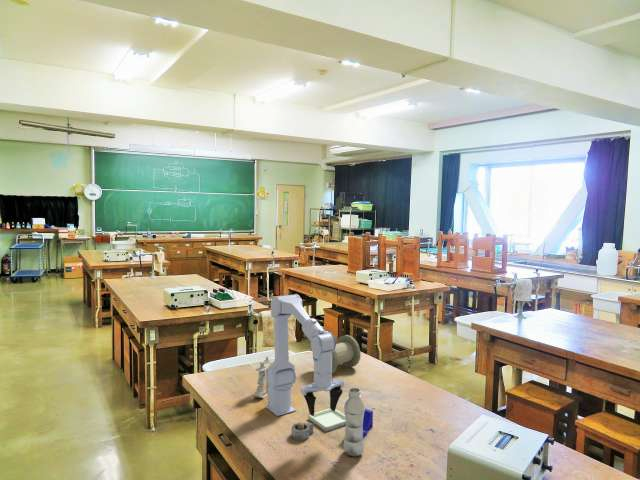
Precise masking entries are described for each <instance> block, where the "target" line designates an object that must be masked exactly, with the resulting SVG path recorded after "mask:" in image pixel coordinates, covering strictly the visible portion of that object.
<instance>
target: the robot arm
mask: <svg viewBox="0 0 640 480" xmlns="http://www.w3.org/2000/svg"><path fill="white" fill-rule="evenodd" d="M291 316H293V317H294V318H295V320H297V321H298V323H300V324H301V330H302V332H303V333H304V335H305V337H307V339H308V340H309V341H310V347H311V352H312V358H313V357H314V360H313V365H314V366H313V382H312V383H310V384H309V383H308V385H307V384H306V385H305V386H301V387H300V393H301V395H303V397H304V399H305V401H306V405H307V408H308V412H309V414H310V415H311V416H314V413H315V406H316V405H315V404H316V399H317V397H316V396H315V394H314V393H317V392H323V391H324V392H329V400H330V401H329V408H330V409H331V410H332V411H335V409H336V408H337V405H338V402H339V399H340V397H341V396H342V395H343V389H342V388H345V387H344V385H345V383H344V380H342V379H334V380H333V379H332V378H333V374H332V350H334V349H335V348H336V343H337V340H336V337H335V335H334V334H333V333H332V332H331V331H328V330H325V328H323V327H322V325H321V324H320V323H319V322H318V321H317V319H315V318H311V317H310V316H309V314H308V312H307V311H306V310H305V308H304V307H303V299H302V298H301V296H300V295H299V294H298V293H294V294H289V295H279V296H278V295H277V296H273V298H272V299H271V300H270V317H271V318H273V332H274V333H273V334H274V335H273V337H274V361H272V362H271V364H269V367H268V374H267V382H268V385H269V388H268V395H267V404H266V405H265V408H267V409H268V410H269V411H270V412H272V413H273V414H274V415H275V416H276V417H279V416H282V415H285V414H289V413H293V412H296V410H297V409H296V408H295V407H293V406H292V387H294V384H295V383H296V381H297V372H296V369H295V364H294V363H293V362H292V361H291V360H289V359H290V358H289V357H290V355H289V353H290V352H289V351H290V350H289V318H290V317H291ZM309 414H308V415H309Z"/></svg>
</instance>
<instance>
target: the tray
mask: <svg viewBox="0 0 640 480" xmlns="http://www.w3.org/2000/svg"><path fill="white" fill-rule="evenodd" d="M307 417H308V418H307V419H308V420H309V421H311V423H312V424H314V425H316V426H318V427H319V428H320V429H321V430H323V431H324V432H329V431H332V430H336V429H338V428H341V427H346V419H345V413H343V412H342V411H340V410H338V409H335V411H332V410H331V409H330V407H329V408H326V409H323V410H320V411H317V412H314V416H311V415H310V414H308V415H307Z"/></svg>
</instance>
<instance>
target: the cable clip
mask: <svg viewBox="0 0 640 480" xmlns="http://www.w3.org/2000/svg"><path fill="white" fill-rule="evenodd" d="M373 418H374V410H371V409H368V408H366V407H365V411H364V418H363V439H364V438H365V437H366V436H368V431H369V430H372V429H373V426H374V424H373V422H374V419H373Z"/></svg>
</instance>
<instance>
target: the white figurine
mask: <svg viewBox="0 0 640 480" xmlns="http://www.w3.org/2000/svg"><path fill="white" fill-rule="evenodd" d="M268 363H270V359H269V356H265V360H262V361H260V362H259V366H257V367H255V371H257V372H258V380H257V382H256V383H257V386H256V391H255V392H254V393H253V394H252V395H251V396H252V397H253V398H257V397H258V399H265V398H266V397H268V395H267V394H268V388H269V385H268V382H267V374H268V367H269V366H270V365H269V366H268V365H266V366H265V364H268ZM264 385H265V389H266V390H265V392H264ZM262 392H263V393H262ZM265 396H266V397H265Z"/></svg>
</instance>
